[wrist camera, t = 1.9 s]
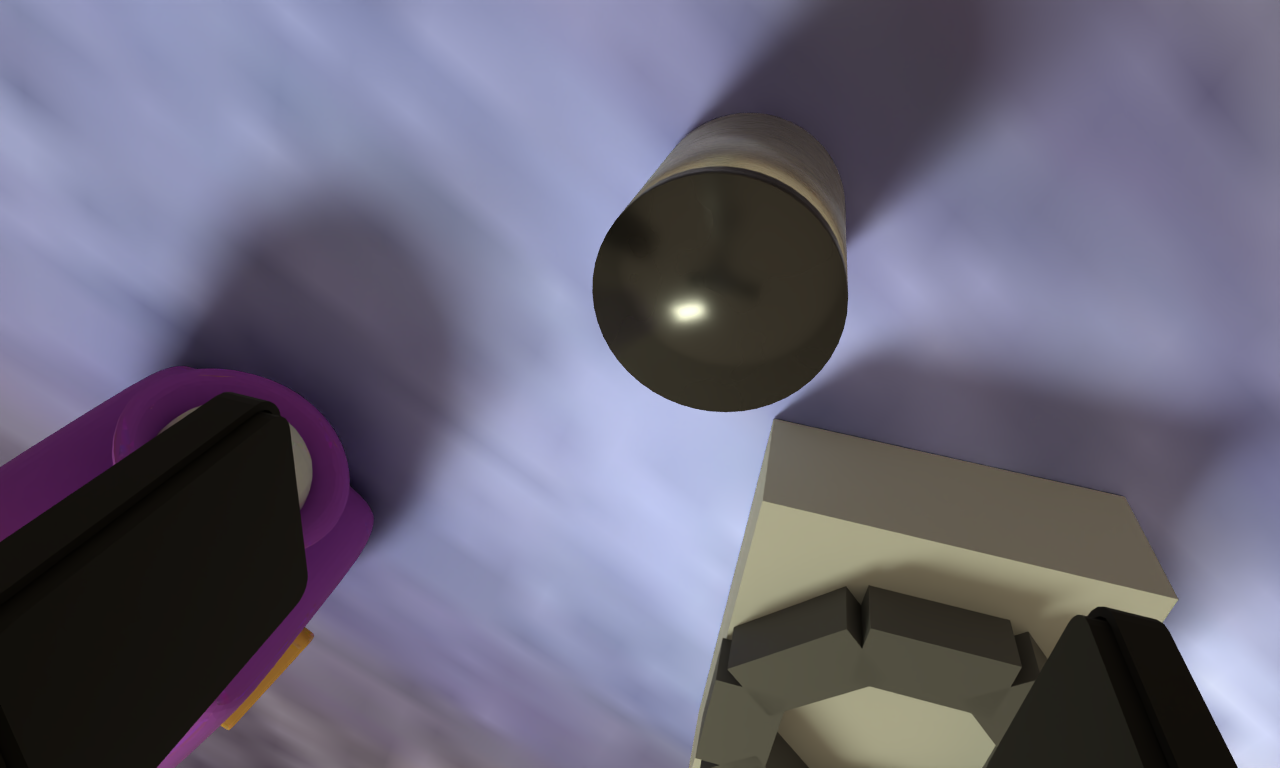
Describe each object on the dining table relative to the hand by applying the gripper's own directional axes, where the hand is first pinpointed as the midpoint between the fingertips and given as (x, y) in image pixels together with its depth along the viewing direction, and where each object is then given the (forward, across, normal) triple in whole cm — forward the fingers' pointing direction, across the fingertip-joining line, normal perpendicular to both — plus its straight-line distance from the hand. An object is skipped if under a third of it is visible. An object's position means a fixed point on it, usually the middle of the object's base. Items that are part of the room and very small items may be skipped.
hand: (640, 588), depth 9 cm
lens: (+13, 0, -1) cm, 13 cm away
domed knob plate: (+14, -7, +12) cm, 19 cm away
